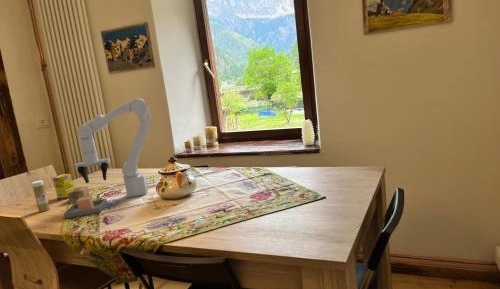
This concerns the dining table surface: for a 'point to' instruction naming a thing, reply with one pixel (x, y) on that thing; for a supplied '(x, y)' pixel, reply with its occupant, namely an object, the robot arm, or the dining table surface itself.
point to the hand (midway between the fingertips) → (96, 181)
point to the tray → (97, 208)
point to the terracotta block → (85, 203)
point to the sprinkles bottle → (40, 195)
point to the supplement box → (63, 185)
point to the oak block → (77, 193)
